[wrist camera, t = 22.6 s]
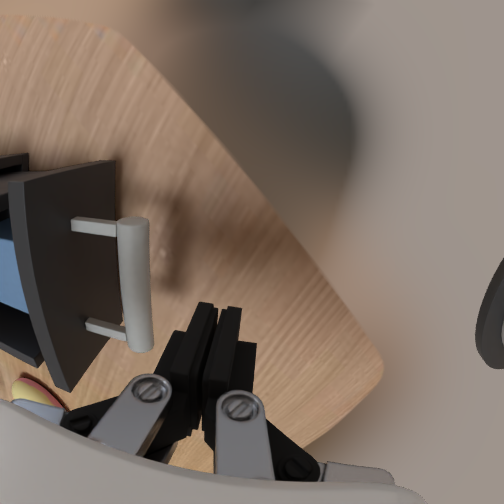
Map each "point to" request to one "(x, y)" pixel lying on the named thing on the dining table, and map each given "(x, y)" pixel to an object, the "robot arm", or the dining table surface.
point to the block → (10, 270)
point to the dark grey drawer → (74, 269)
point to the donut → (32, 392)
